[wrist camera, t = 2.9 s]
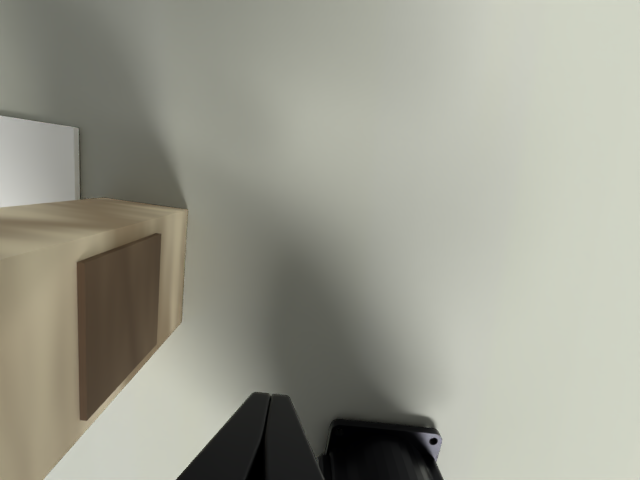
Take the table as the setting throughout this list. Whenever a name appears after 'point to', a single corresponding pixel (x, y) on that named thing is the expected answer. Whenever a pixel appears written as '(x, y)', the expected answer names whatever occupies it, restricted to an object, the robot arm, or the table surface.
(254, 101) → the table surface
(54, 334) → the birch block
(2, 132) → the mat
